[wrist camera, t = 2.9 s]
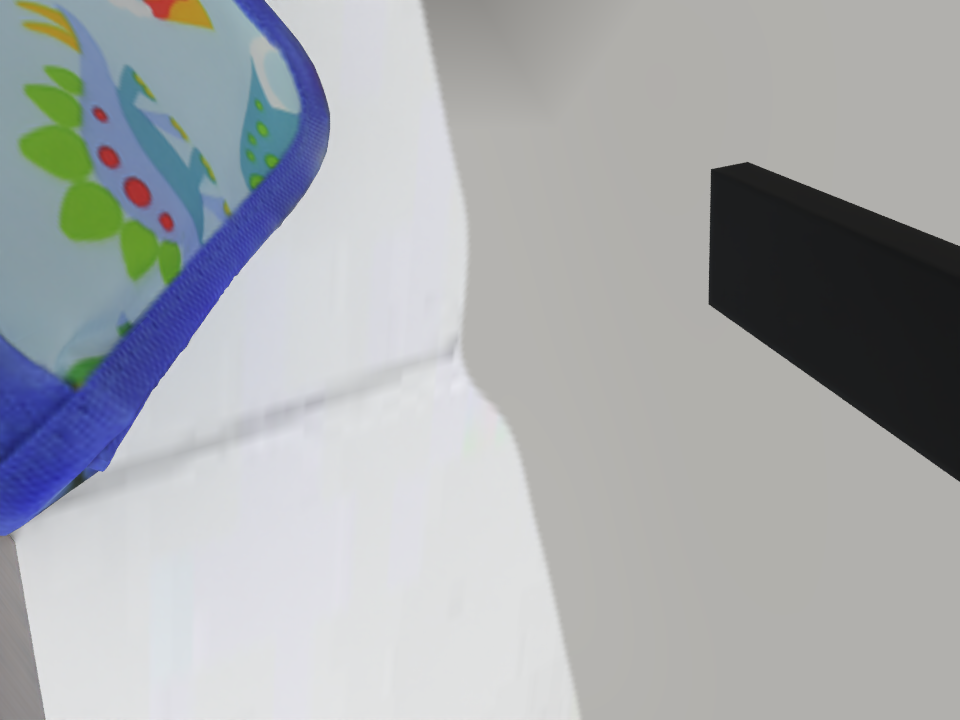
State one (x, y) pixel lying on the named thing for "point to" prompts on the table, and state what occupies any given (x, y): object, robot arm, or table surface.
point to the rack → (16, 644)
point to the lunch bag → (130, 207)
